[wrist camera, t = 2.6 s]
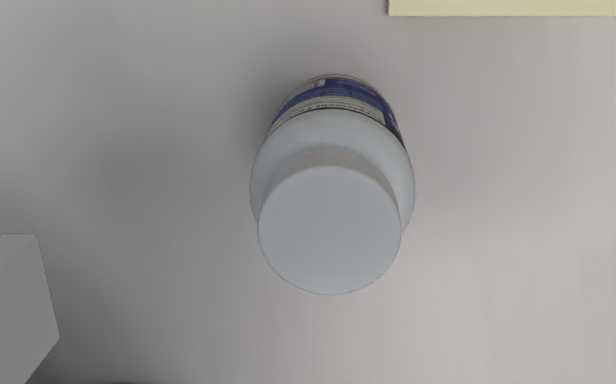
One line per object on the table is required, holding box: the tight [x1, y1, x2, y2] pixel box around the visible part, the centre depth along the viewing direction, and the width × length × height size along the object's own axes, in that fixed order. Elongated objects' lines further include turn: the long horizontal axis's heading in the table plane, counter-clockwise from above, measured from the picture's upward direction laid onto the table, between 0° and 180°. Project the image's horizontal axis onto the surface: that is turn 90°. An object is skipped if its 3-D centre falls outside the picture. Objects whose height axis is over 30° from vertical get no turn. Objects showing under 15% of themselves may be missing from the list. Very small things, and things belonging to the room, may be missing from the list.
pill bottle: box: [250, 75, 415, 295], centre depth 19 cm, size 5×5×10 cm
